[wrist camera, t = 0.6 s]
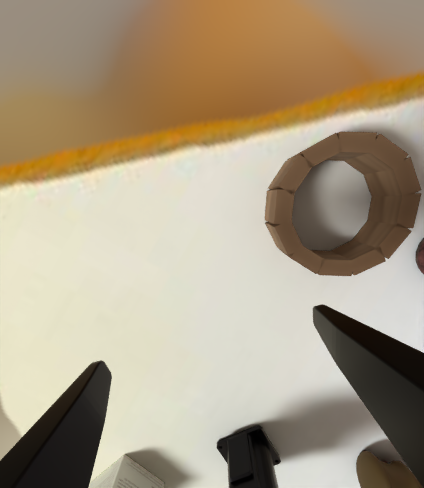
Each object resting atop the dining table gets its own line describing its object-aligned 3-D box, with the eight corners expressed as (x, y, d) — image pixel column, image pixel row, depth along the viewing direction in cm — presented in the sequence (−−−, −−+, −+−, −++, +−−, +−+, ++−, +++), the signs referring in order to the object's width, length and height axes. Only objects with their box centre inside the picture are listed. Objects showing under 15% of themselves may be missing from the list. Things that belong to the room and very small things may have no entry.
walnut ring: (401, 231, 21) (436, 237, 18) (294, 282, 23) (308, 297, 19) (361, 119, 19) (392, 101, 16) (245, 182, 21) (251, 179, 17)
